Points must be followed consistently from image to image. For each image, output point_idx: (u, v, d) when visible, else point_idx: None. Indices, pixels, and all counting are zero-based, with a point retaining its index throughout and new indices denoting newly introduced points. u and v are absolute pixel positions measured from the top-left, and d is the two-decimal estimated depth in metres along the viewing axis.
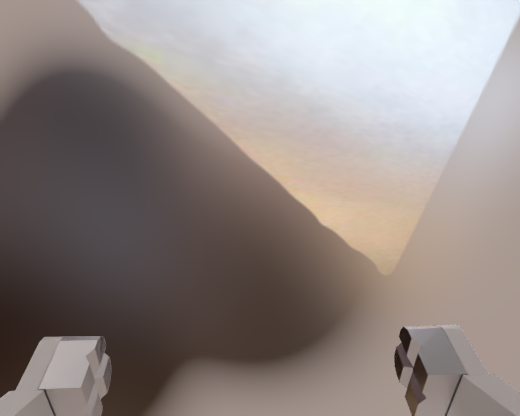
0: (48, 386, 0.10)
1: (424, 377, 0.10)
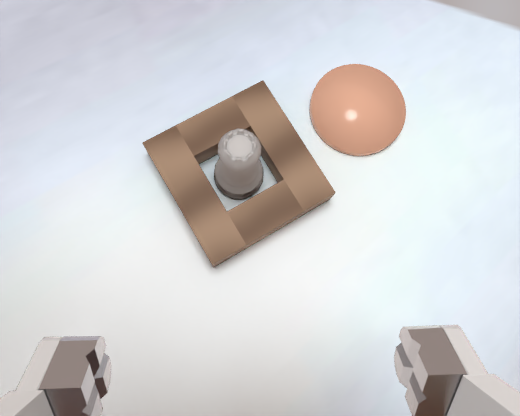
0: (48, 386, 0.10)
1: (424, 377, 0.10)
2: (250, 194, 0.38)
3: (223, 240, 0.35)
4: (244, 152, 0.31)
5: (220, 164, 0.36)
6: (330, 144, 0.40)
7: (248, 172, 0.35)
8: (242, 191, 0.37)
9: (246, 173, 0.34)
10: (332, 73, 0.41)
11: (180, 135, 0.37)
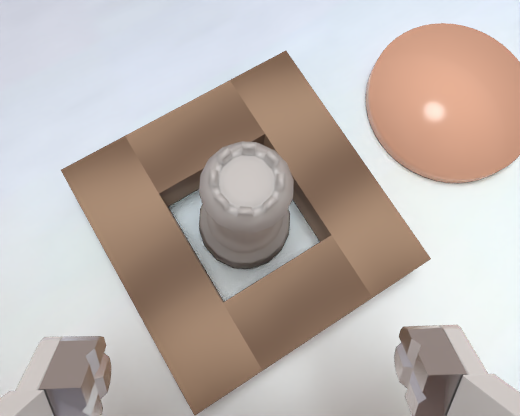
0: (48, 386, 0.10)
1: (424, 377, 0.10)
2: (266, 259, 0.21)
3: (217, 361, 0.18)
4: (258, 195, 0.14)
5: None
6: (406, 163, 0.22)
7: None
8: (253, 257, 0.19)
9: (260, 230, 0.17)
10: (403, 40, 0.23)
11: (133, 154, 0.20)
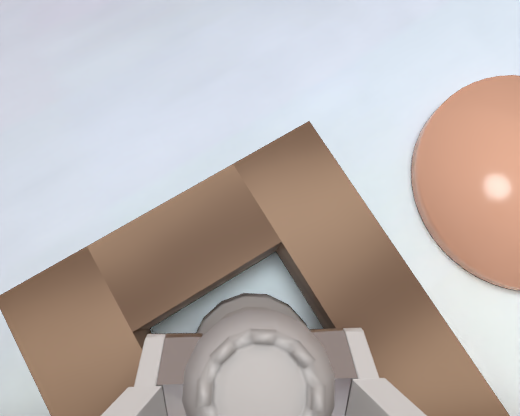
0: (165, 382, 0.10)
1: None
2: None
3: None
4: None
5: None
6: (469, 268, 0.17)
7: None
8: None
9: None
10: (461, 98, 0.18)
11: (98, 273, 0.14)
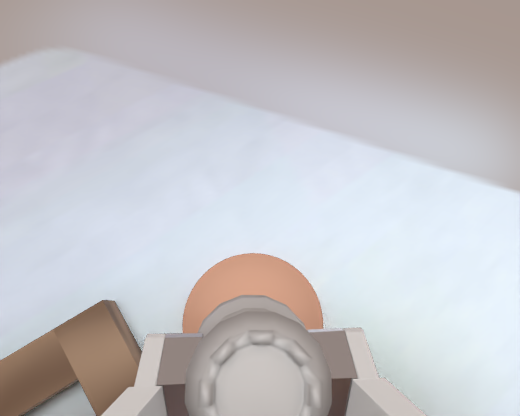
0: (165, 382, 0.10)
1: None
2: None
3: None
4: None
5: None
6: None
7: None
8: None
9: None
10: (216, 270, 0.28)
11: None
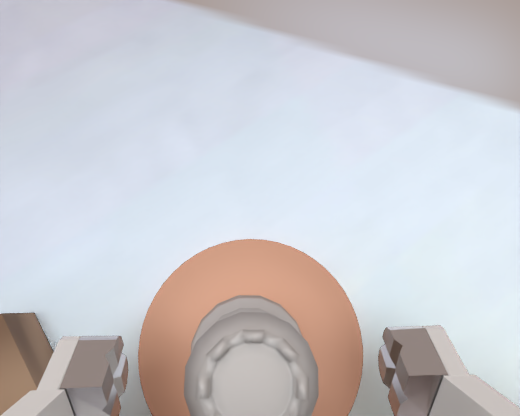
0: (69, 385, 0.10)
1: (405, 378, 0.10)
2: None
3: None
4: (270, 409, 0.10)
5: None
6: None
7: None
8: None
9: None
10: (193, 265, 0.18)
11: None
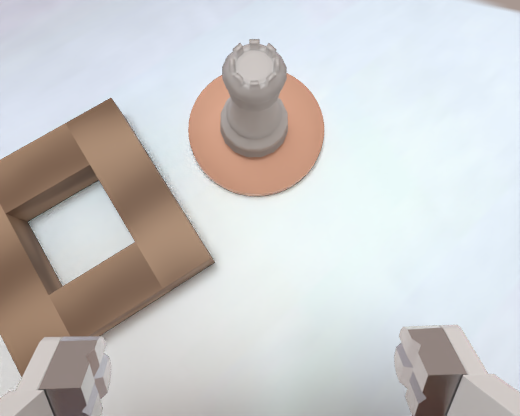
0: (48, 386, 0.10)
1: (424, 377, 0.10)
2: (272, 150, 0.27)
3: (41, 338, 0.24)
4: (262, 75, 0.21)
5: (228, 108, 0.26)
6: (216, 182, 0.28)
7: (268, 113, 0.24)
8: (261, 144, 0.26)
9: (266, 114, 0.24)
10: (219, 81, 0.29)
11: None
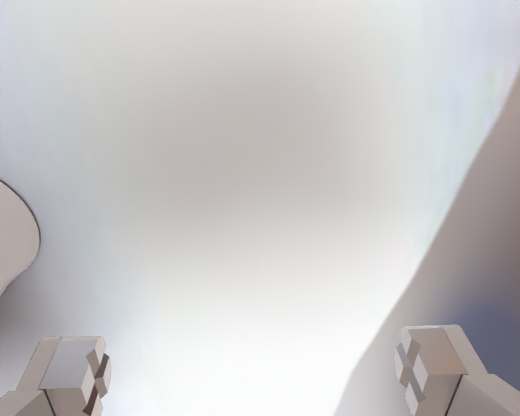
0: (48, 386, 0.10)
1: (424, 377, 0.10)
2: None
3: None
4: None
5: None
6: None
7: None
8: None
9: None
10: None
11: None
